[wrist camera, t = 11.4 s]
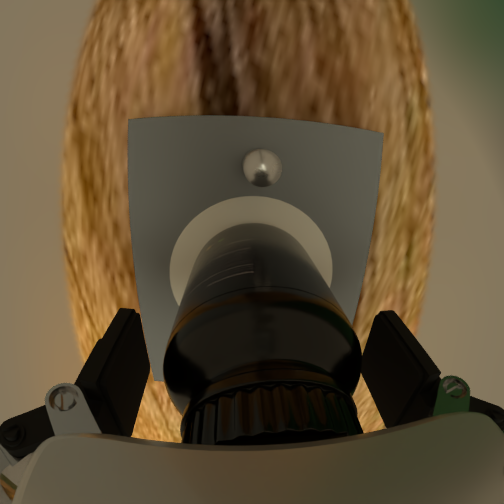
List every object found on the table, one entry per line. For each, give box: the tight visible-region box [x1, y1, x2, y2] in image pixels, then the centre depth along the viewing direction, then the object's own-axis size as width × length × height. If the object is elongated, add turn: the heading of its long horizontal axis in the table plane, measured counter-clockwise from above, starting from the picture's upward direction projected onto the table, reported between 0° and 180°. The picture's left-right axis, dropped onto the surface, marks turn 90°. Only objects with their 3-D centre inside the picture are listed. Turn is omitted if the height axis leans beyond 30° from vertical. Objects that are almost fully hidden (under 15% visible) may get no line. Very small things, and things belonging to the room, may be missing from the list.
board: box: [128, 115, 384, 382], centre depth 16 cm, size 18×14×4 cm
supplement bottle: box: [163, 223, 364, 446], centre depth 11 cm, size 7×7×12 cm
